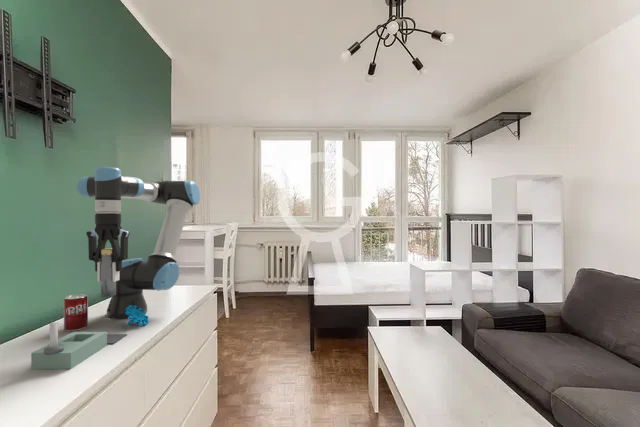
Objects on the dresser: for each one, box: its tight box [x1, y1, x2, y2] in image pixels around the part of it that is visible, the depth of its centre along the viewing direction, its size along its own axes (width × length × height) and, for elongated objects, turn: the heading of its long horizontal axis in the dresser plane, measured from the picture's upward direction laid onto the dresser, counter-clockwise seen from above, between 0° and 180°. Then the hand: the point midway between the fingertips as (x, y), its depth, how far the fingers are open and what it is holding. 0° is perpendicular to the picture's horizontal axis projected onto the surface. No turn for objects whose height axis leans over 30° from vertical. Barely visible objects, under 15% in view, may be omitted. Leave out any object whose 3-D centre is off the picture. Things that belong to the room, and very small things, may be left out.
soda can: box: [63, 293, 89, 332], centre depth 124 cm, size 7×7×12 cm
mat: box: [107, 333, 128, 345], centre depth 113 cm, size 8×8×1 cm
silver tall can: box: [100, 247, 116, 298], centre depth 113 cm, size 4×4×16 cm
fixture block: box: [30, 321, 108, 370], centre depth 100 cm, size 17×11×12 cm, turn 1°
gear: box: [125, 305, 150, 327], centre depth 129 cm, size 11×6×10 cm
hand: (108, 280), depth 113 cm, fingers closed on silver tall can, 4 cm apart
